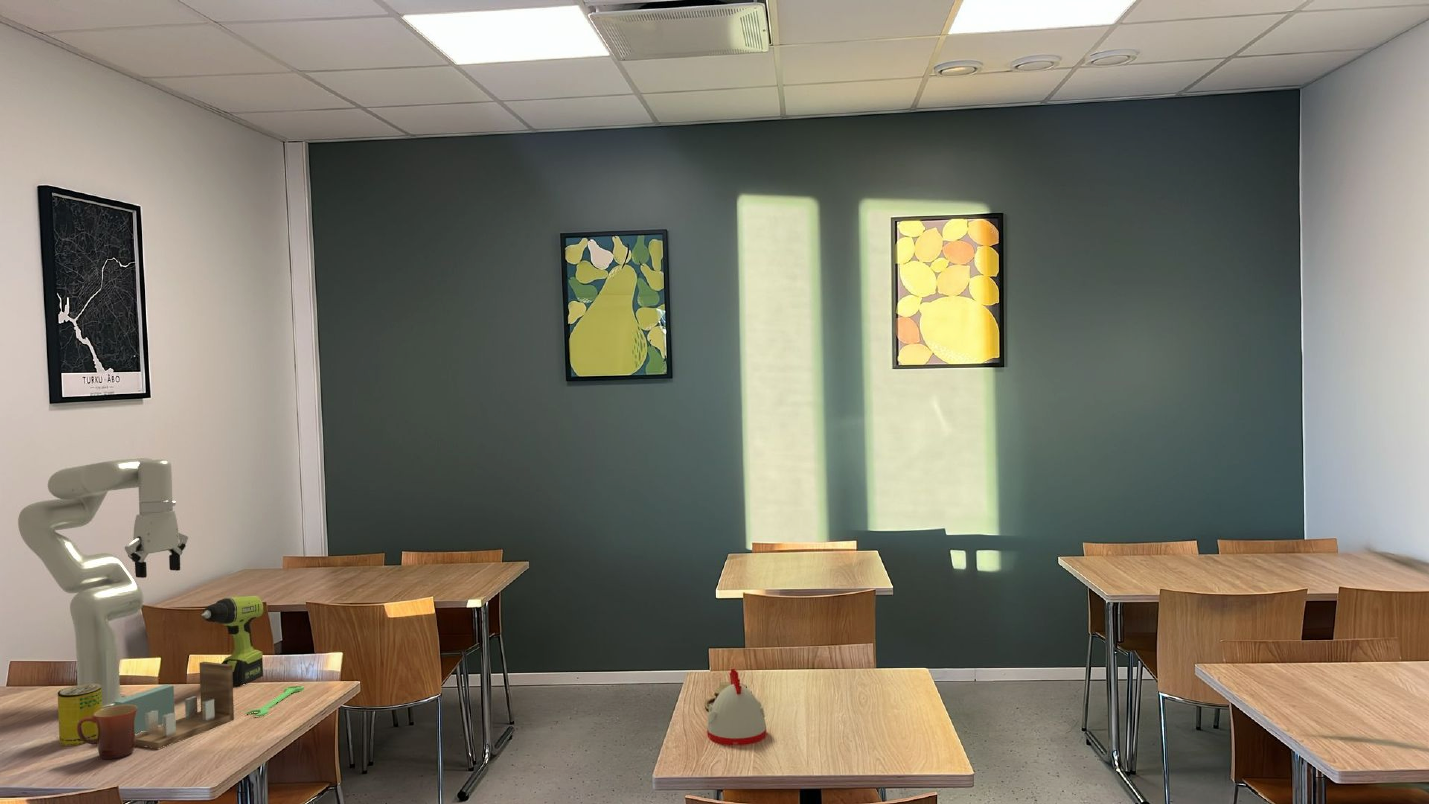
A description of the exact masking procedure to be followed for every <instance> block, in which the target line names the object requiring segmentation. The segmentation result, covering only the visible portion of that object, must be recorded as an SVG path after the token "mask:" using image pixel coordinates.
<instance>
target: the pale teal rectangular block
mask: <svg viewBox="0 0 1429 804" xmlns="http://www.w3.org/2000/svg"><path fill="white" fill-rule="evenodd" d="M174 686H175V685H172V684H162V685H159V686H157V687H153V688H150V689H147V690H144V691H142V692H141V691H140V692H138V693H134V694H133V695H132V694H131V695H130V696H127V697H126V698H123V699H120V700H117V701H114V706H117V705H135V706H137V707H138V709H137V712H136V716H135V721H134V727H135V734H137V735H138V733H139V734H141V733H140V732H141V731H145V732H146V729H145V713H148V712H151V711H153V710H157V711H158V725H161V726H162V724H163V723H162V716H164V715H167V714H169V713H175V714H176V712H175V690H174V689H175V688H174Z"/></svg>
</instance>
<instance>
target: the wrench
mask: <svg viewBox="0 0 1429 804" xmlns="http://www.w3.org/2000/svg"><path fill="white" fill-rule="evenodd" d="M297 687H299V688H297ZM301 690H303V691H304V690H305V686H303V685H302V686H301V685H295V686H293V685H292V686H288V687H287V686H286V687H285V688H284V692H282V693H281V694H280V695H278V696H277V697H275V698H274V699H272V700H271V701H268V703H266V704H265V705H263V706H262V707H259V708H254V709H251V710H248V711H247V712H246V713H245V715H246V714H250V713H252V712H253V713H254V712H258V714H254V715H253V717H254V716H263V715H265V714H267V713H268V712H269V710H268V708H270V707H272V706H273V705H274V706H276V705H277V704H278V703H277V702H279V703H280V702H282V701H283V700H284V699H286V698H287V697H289V696H290V695H291V693H292V694H293V693H299V692H302V691H301ZM298 691H299V692H298ZM282 699H283V700H282ZM281 700H282V701H281ZM276 703H277V704H276ZM275 704H276V705H275ZM274 706H273V707H274ZM273 707H272V708H273ZM270 709H271V708H270ZM268 714H269V713H268ZM268 714H267V715H268ZM250 715H251V714H250ZM263 717H264V716H263Z"/></svg>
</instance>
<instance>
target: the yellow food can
mask: <svg viewBox="0 0 1429 804" xmlns="http://www.w3.org/2000/svg"><path fill="white" fill-rule="evenodd" d="M57 707H58V709H57V710H58V711H57V712H58V737H59V738H58V739H59V742H58V743H59V744H60V745H62V746H67V747H68V746H79V744H80V745H84V744H86V743H85V742H83V741H82V740H81V739H80V737H79V736H78V732H77V725H78V722H79V721H80V720H81V719H83V718H85V717H90V716H93V714H94V713H95V712H96V711H98V710H101V709H102V685H100V684H83V685H78V684H77V685H73V686H69V687H65V688H63V689H61V690H59V691H58V692H57ZM82 731H83V734H84V735H85V736H86V737H87V738H90V739H95V738H97V737H98V728H97V725H96V724H95V723H93V722H90V721H86V722H83V723H82Z"/></svg>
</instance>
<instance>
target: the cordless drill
mask: <svg viewBox="0 0 1429 804" xmlns="http://www.w3.org/2000/svg"><path fill="white" fill-rule="evenodd" d="M263 613H264V603H263V602H262V600H261V598H260V597H259V596H257V595H248V596H231V597H225V598H224V597H223V598H222V599H219V600H217V601H216V602H215V603H213V604H212V603H211V604H210V605H208V606H206V607H205V608H204V609H203V612H202V614H200V616H202V617H203V619H204V621H206V622H207V623H208V622H209V623H217V624H221V625H223V626H225V628H227V631H228V632H227V633H228V635H231V636H232V637H233V638H232V639H233V642H234V651H233V653H231V654H230V655H229V656H228V657H226V658H224V660H222V661H221V663H220V664H229V665H232V673H233V687H239V686H238V685H243V684H245V685H247V684H249V683H251V682H253V681H256V680H258V679H260V678H261V677H263V676H264V667H263V666H264V661H263V659H264V657H263V651H262V650H261V651H260V650H259V649H254V647H253V640H252V630H251V626H250V625H251V623H252V621H253V620H255V619H257V618H259V617H261V616H262V615H263ZM243 686H244V685H243Z"/></svg>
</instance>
